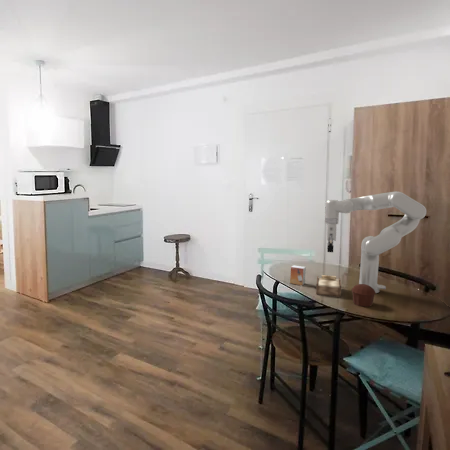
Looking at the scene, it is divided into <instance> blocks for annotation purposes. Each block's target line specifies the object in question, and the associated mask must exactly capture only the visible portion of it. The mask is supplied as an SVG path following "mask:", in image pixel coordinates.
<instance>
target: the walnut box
mask: <svg viewBox="0 0 450 450" xmlns="http://www.w3.org/2000/svg"><path fill="white" fill-rule="evenodd" d="M319 278H320V277H319V275H317V276H316V289H315V295H316V294H317V295H318V296H327V297H337V298H341V297H342V282H341V278H340V277H339V278H338V280H339V285H340V288H335V287H324V286H318V282H319Z"/></svg>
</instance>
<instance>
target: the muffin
mask: <svg viewBox="0 0 450 450" xmlns="http://www.w3.org/2000/svg"><path fill="white" fill-rule="evenodd" d="M351 293H352V300H353V302H352V303H354V305H356V306H358V307H364V308H365V307H372V305H373V303H374V297H375V296H376V294H377V293H376V292H375V290H374V289H373V288H372V287H371V286H369V285H366V284H359V283H358V284H355V285H354V286H353V287H352V288H351Z"/></svg>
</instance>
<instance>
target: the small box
mask: <svg viewBox="0 0 450 450" xmlns="http://www.w3.org/2000/svg"><path fill="white" fill-rule="evenodd" d="M306 268H307V266H300V265H295V264H294V265H292V266H290V275H289V278H290V279H289V284H294V285H296V286H297V285H298V286H303V285H304V284H305V283H306V273H307V272H306V270H307V269H306Z"/></svg>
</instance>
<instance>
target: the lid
mask: <svg viewBox="0 0 450 450" xmlns="http://www.w3.org/2000/svg"><path fill="white" fill-rule="evenodd" d="M318 278H319V282H318V286H324V287H335V288H340V285H339V279H338V278H337V276H336V275H328V274H327V275H324V274H321V277H318Z"/></svg>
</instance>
